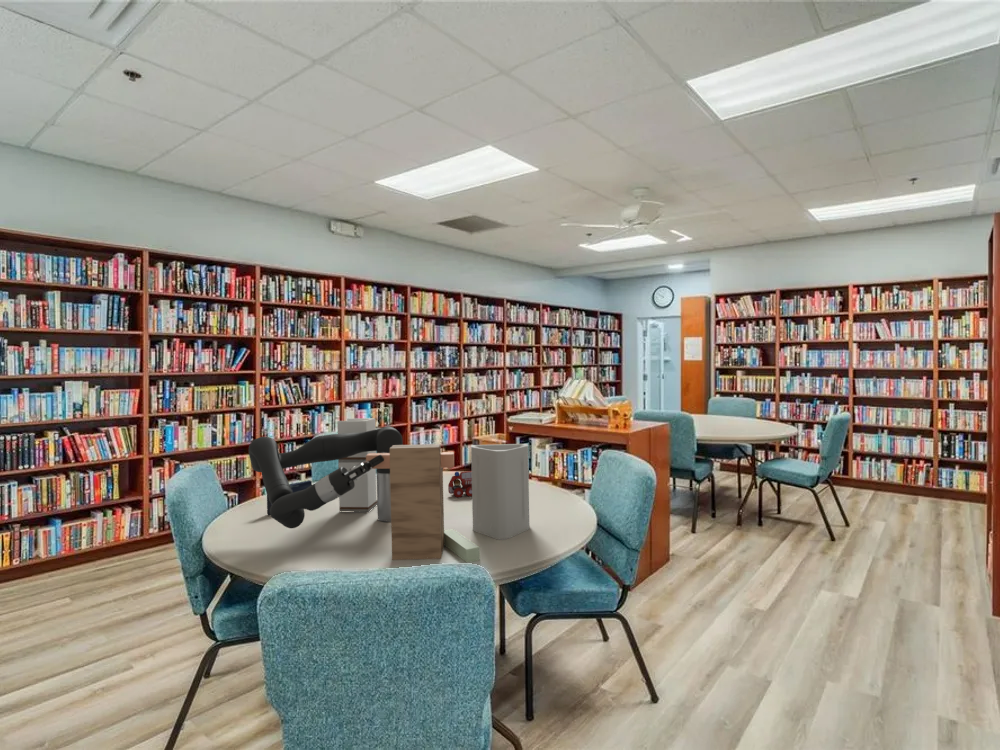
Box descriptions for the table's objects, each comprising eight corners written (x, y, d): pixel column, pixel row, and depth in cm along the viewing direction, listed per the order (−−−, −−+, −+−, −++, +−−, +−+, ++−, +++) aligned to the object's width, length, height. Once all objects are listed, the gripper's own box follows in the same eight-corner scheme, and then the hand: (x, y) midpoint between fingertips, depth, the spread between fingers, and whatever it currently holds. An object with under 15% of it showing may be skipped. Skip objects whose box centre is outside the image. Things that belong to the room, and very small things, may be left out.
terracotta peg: (369, 466, 165) (368, 453, 165) (454, 465, 166) (454, 452, 166) (366, 468, 161) (366, 455, 161) (453, 467, 162) (453, 454, 162)
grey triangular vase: (471, 540, 170) (470, 451, 170) (473, 526, 185) (471, 445, 185) (532, 538, 171) (530, 450, 170) (528, 524, 186) (527, 443, 185)
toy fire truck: (447, 494, 232) (446, 470, 232) (475, 492, 235) (474, 468, 235) (449, 498, 226) (449, 473, 225) (478, 496, 229) (478, 471, 228)
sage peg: (441, 543, 169) (441, 530, 169) (453, 541, 171) (453, 528, 170) (466, 563, 151) (466, 549, 151) (479, 561, 153) (479, 547, 153)
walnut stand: (398, 545, 166) (396, 442, 166) (444, 544, 166) (442, 441, 166) (392, 559, 154) (389, 448, 154) (441, 558, 154) (438, 447, 154)
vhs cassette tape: (270, 516, 204) (269, 489, 203) (266, 515, 205) (265, 488, 205) (313, 505, 218) (312, 481, 218) (308, 504, 220) (308, 480, 220)
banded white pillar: (377, 505, 216) (375, 418, 216) (368, 512, 206) (366, 420, 205) (349, 505, 217) (347, 418, 217) (339, 512, 207) (337, 421, 206)
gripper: (347, 490, 170) (394, 462, 170) (334, 501, 156) (386, 471, 156) (335, 469, 170) (382, 442, 170) (321, 479, 156) (372, 448, 156)
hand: (383, 456), depth 163 cm, fingers closed on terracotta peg, 4 cm apart
